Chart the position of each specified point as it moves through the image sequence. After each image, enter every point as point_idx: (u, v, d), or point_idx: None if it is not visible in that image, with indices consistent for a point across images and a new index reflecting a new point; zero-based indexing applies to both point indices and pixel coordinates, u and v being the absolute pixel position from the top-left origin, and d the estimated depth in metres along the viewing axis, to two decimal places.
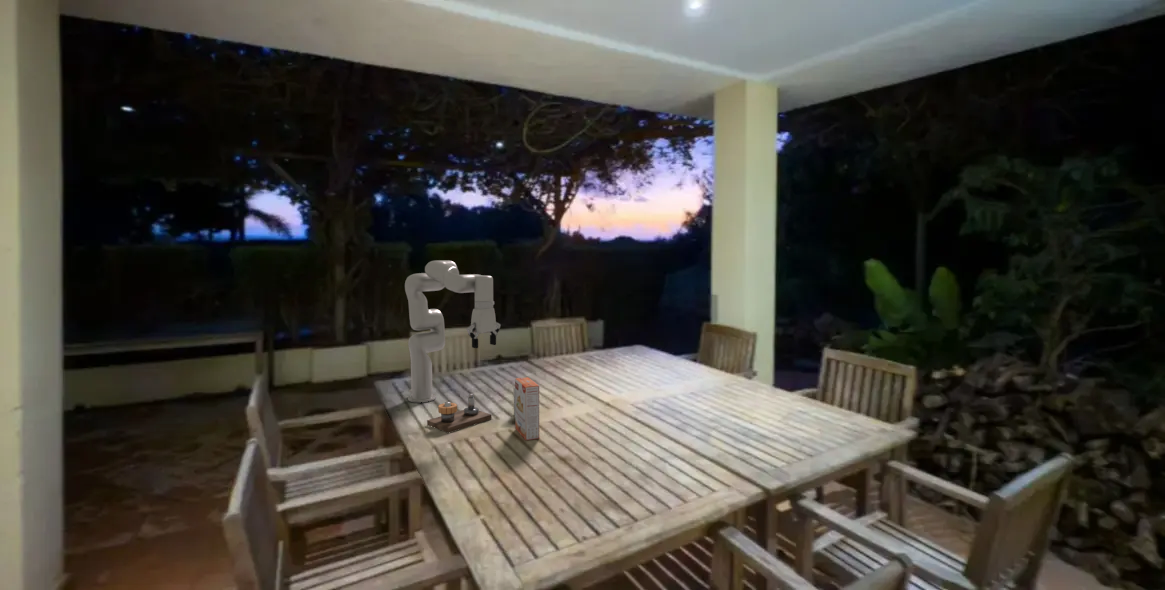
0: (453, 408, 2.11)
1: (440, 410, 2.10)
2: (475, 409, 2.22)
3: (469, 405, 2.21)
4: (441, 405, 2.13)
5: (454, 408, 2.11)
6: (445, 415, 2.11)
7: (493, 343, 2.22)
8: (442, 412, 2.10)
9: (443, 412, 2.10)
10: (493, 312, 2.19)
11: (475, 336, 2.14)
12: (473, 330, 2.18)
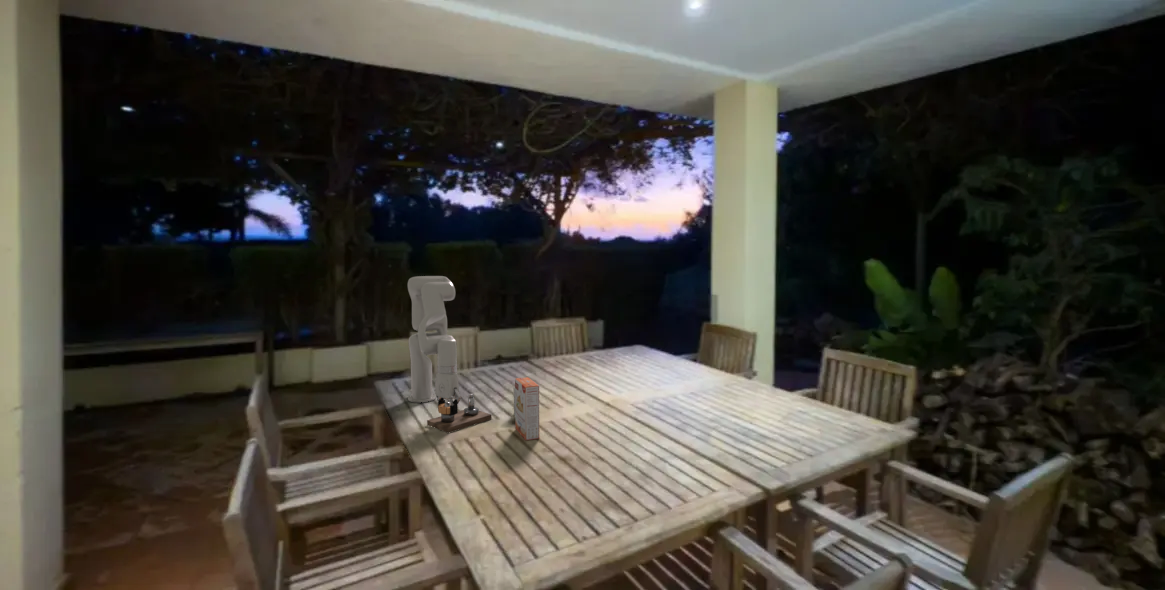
0: None
1: (440, 410, 2.10)
2: (475, 409, 2.22)
3: (469, 405, 2.21)
4: (441, 405, 2.13)
5: None
6: (445, 415, 2.11)
7: None
8: (442, 412, 2.10)
9: (443, 412, 2.10)
10: None
11: None
12: (446, 397, 2.08)
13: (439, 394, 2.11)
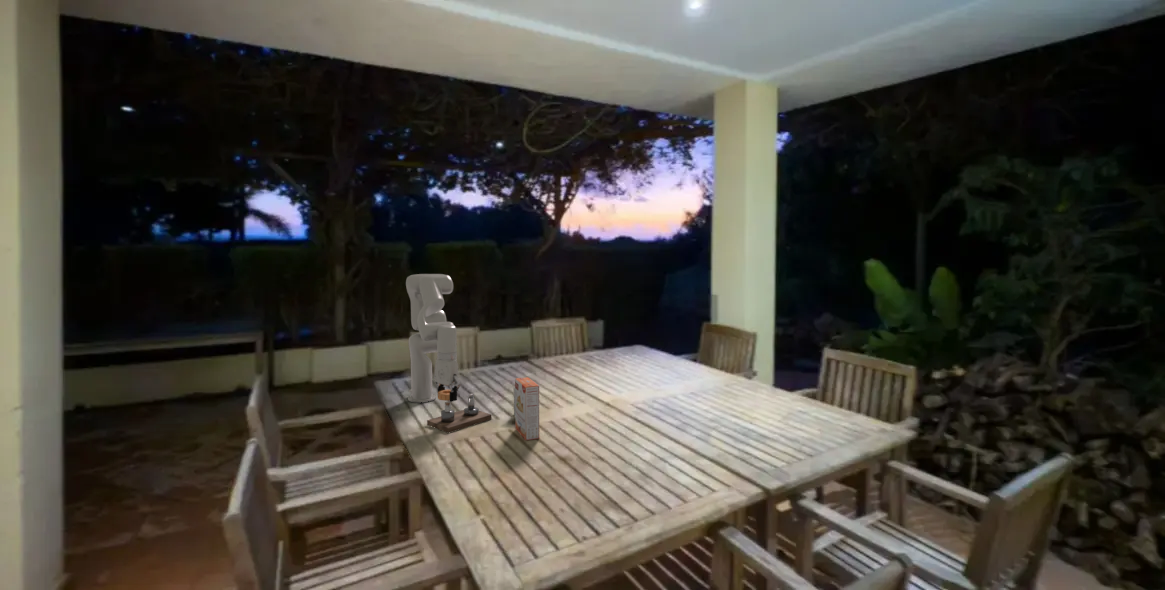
0: None
1: (439, 396, 2.10)
2: (475, 409, 2.22)
3: (469, 405, 2.21)
4: (441, 392, 2.13)
5: None
6: (445, 415, 2.11)
7: None
8: (441, 398, 2.10)
9: (442, 398, 2.10)
10: None
11: None
12: (446, 384, 2.08)
13: (439, 380, 2.11)
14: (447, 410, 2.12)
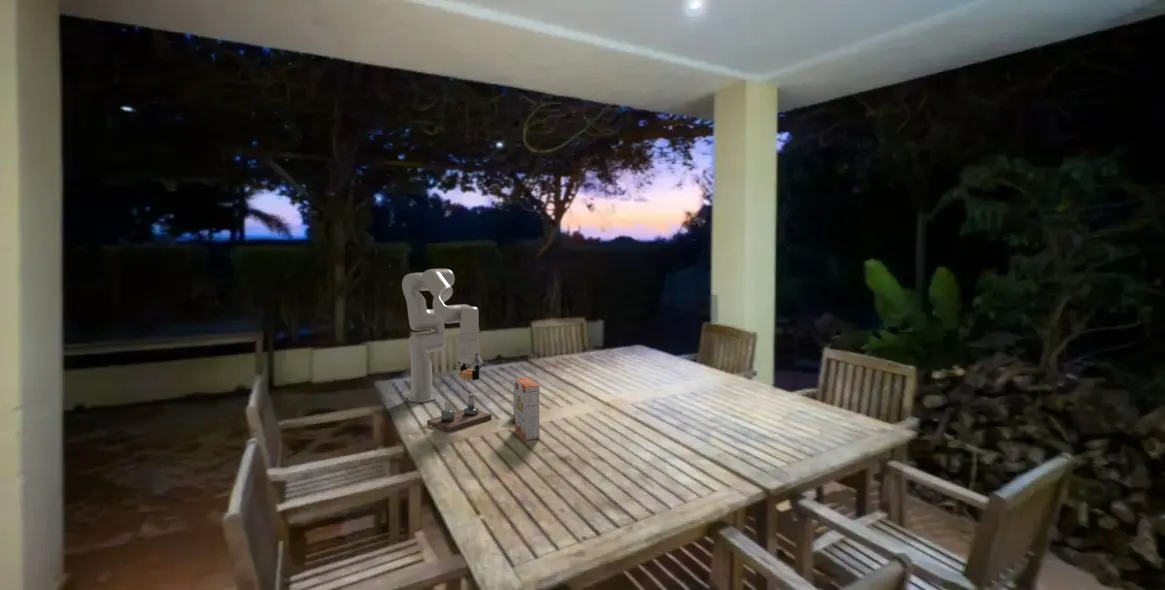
0: None
1: (462, 375, 2.18)
2: (475, 409, 2.22)
3: (469, 405, 2.21)
4: (463, 371, 2.21)
5: None
6: (445, 415, 2.11)
7: None
8: (464, 377, 2.18)
9: (465, 377, 2.17)
10: None
11: None
12: (469, 363, 2.16)
13: (461, 360, 2.19)
14: (447, 410, 2.12)
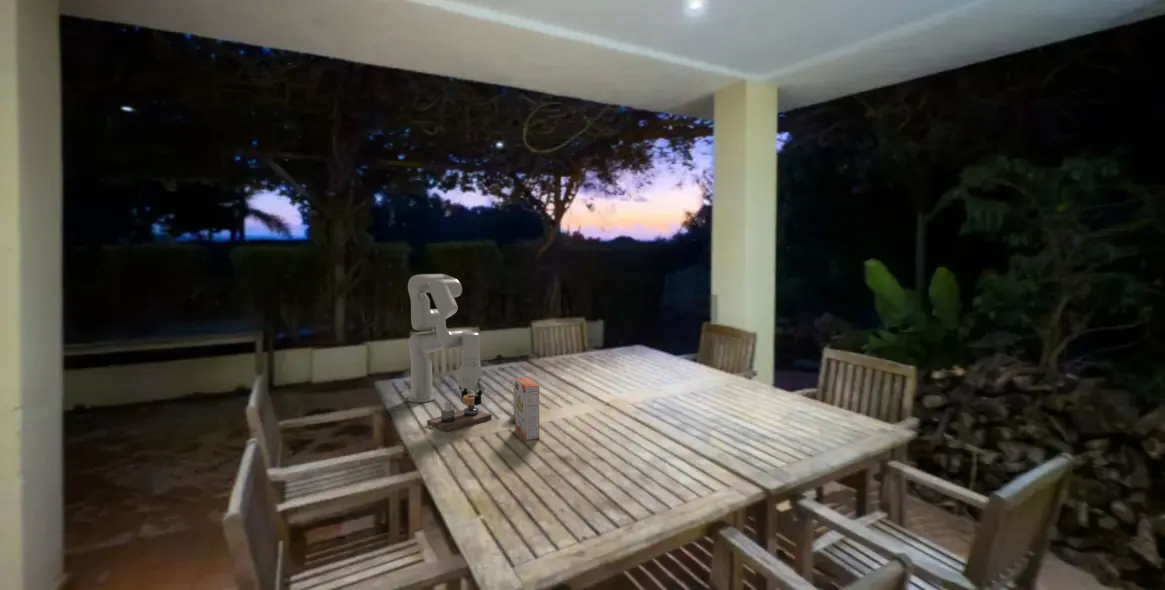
0: None
1: (464, 401, 2.19)
2: (475, 409, 2.22)
3: (469, 405, 2.21)
4: (465, 396, 2.22)
5: None
6: (445, 415, 2.11)
7: None
8: (467, 403, 2.19)
9: (468, 403, 2.19)
10: None
11: None
12: (471, 388, 2.18)
13: (463, 386, 2.20)
14: (447, 410, 2.12)
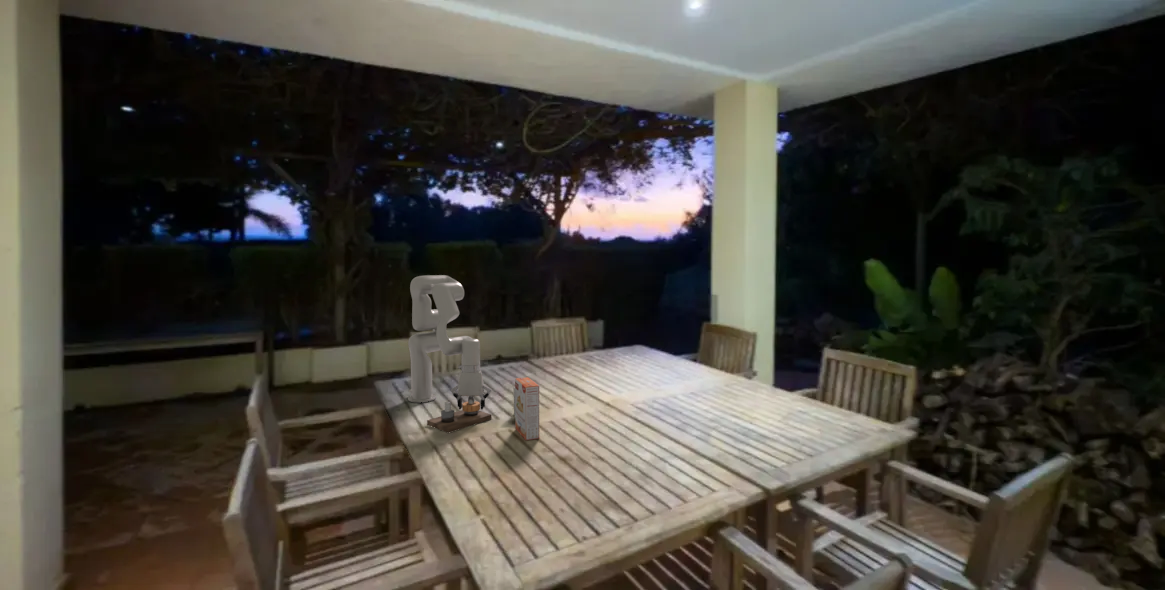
0: (479, 404, 2.23)
1: (469, 409, 2.19)
2: None
3: None
4: (465, 404, 2.21)
5: (479, 404, 2.23)
6: (445, 415, 2.11)
7: (461, 406, 2.23)
8: (472, 410, 2.19)
9: (473, 410, 2.20)
10: None
11: None
12: (477, 394, 2.19)
13: (466, 393, 2.19)
14: (447, 410, 2.12)
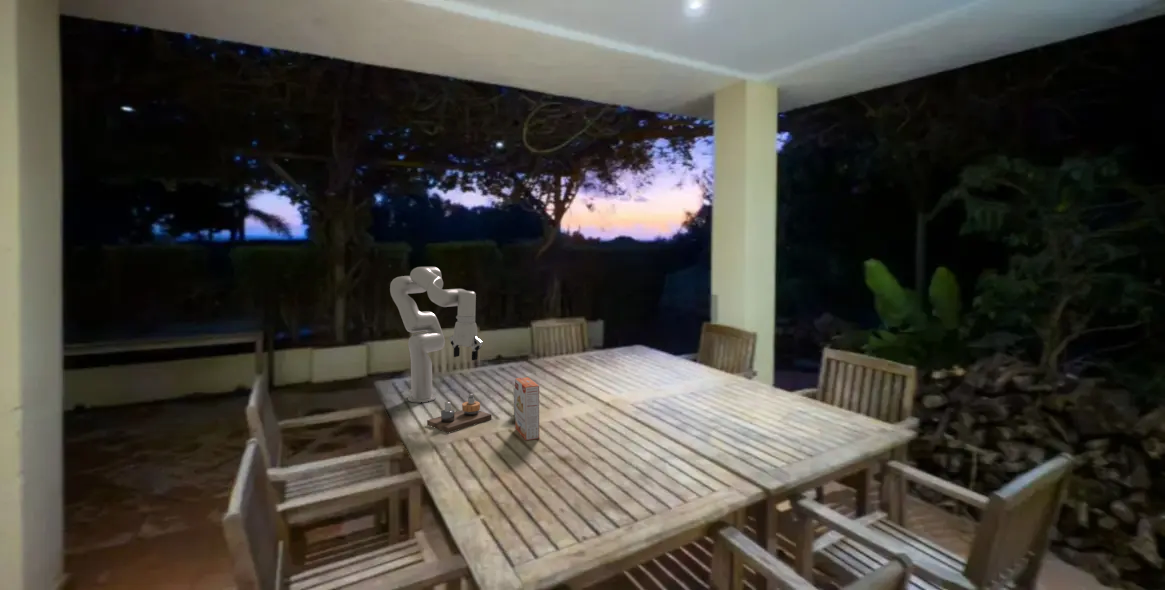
0: (479, 404, 2.23)
1: (469, 409, 2.19)
2: None
3: None
4: (465, 404, 2.21)
5: (479, 404, 2.23)
6: (445, 415, 2.11)
7: (458, 355, 2.33)
8: (472, 410, 2.19)
9: (473, 410, 2.20)
10: None
11: None
12: (467, 345, 2.25)
13: (458, 342, 2.27)
14: (447, 410, 2.12)
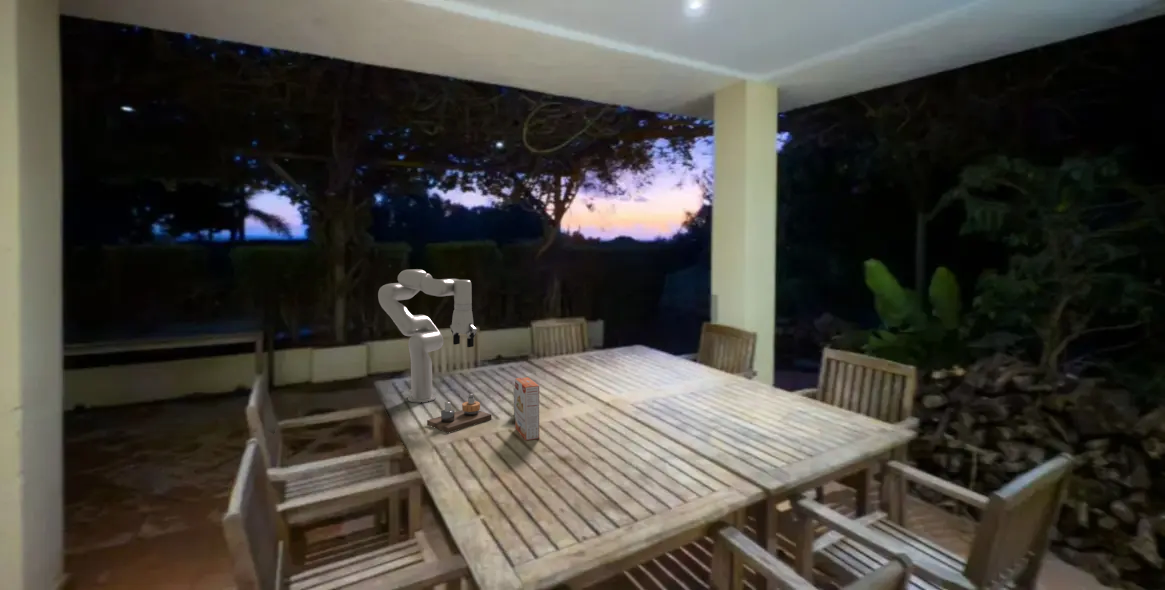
0: (479, 404, 2.23)
1: (469, 409, 2.19)
2: None
3: None
4: (465, 404, 2.21)
5: (479, 404, 2.23)
6: (445, 415, 2.11)
7: (458, 342, 2.39)
8: (472, 410, 2.19)
9: (473, 410, 2.20)
10: None
11: None
12: (463, 332, 2.31)
13: (456, 330, 2.34)
14: (447, 410, 2.12)
